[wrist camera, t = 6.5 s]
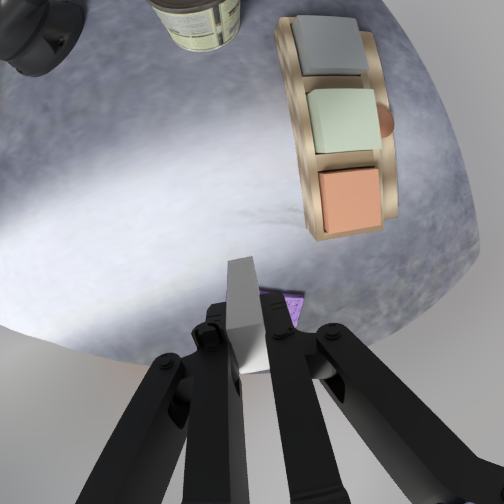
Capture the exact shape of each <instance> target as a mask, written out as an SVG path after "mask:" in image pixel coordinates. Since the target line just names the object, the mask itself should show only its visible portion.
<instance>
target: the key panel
mask: <svg viewBox="0 0 504 504" xmlns="http://www.w3.org/2000/svg"><path fill="white" fill-rule="evenodd" d="M295 19H296V17H280V19H279V22H278V24H277V27H276V30H275V32H274V37H275V41H276V46H277V50H278V55H279V59H280V64H281V69H282V74H283V79H284V84H285V89H286V94H287V99H288V105H289V110H290V116H291V122H292V128H293V134H294V140H295V147H296V153H297V160H298V167H299V174H300V182H301V189H302V197H303V205H304V214H305V223H306V229H307V230H308V231H309V232H310V233H311V235H312V236H313V237H314V238H315V240H316V241H323V240H329V239H334V238H340V237H345V236H351V235H357V234H362V233H368V232H373V231H379V230H384V220H385V219H391V218H397V217H398V195H397V173H396V159H395V148H394V139H393V129H394V119H393V116H392V114H391V112H390V109H389V103H388V97H387V92H386V87H385V82H384V77H383V72H382V68H381V64H380V59H379V55H378V52H377V48H376V44H375V40H374V37H373V34H372V32H364V31H359V32H360V35H361V39H362V42H363V46H364V50H365V54H366V58H367V62H368V66H369V70H367V71H365V72H363V73H361V74H359V75H357V76H311V77H302V74H301V69H300V65H299V60H298V56H297V51H296V47H295V43H294V39H293V35H292V31H291V27H292V25H293V23H294V21H295ZM314 89H373V90H374V95H375V101H376V106H377V113H378V119H379V126H380V134H381V142H382V149H372V150H357V151H344V152H333V153H317V152H315V149H314V142H313V135H312V129H311V123H310V117H309V111H308V105H307V100H306V95H307V94H309V93H310V92H311V91H313V90H314ZM362 166H367V167H371V168H376V169H378V172H379V186H380V209H381V225H379V226H373V227H367V228H361V229H356V230H350V231H344V232H338V233H333V234H329V233H328V232H327V231H326V230H325V229H324V228H323V218H322V207H321V197H320V188H319V180H318V171H324V170H332V169H342V168H351V167H362Z"/></svg>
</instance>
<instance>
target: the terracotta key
mask: <svg viewBox="0 0 504 504" xmlns="http://www.w3.org/2000/svg"><path fill="white" fill-rule="evenodd" d="M318 180H319V188H320V197H321V207H322V218H323V228H324V229H325V230H326V231H327V232H328V233H329V234H333V233H338V232H344V231H350V230H356V229H361V228H367V227H373V226H379V225H381V209H380V186H379V172H378V169H376V168H371V167H367V166H362V167H351V168H342V169H332V170H324V171H318Z"/></svg>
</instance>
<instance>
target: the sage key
mask: <svg viewBox="0 0 504 504" xmlns="http://www.w3.org/2000/svg"><path fill="white" fill-rule="evenodd" d="M306 100H307V105H308V111H309V117H310V123H311V129H312V135H313V142H314V149H315V152H317V153H333V152H344V151H357V150H372V149H382V142H381V134H380V126H379V119H378V113H377V106H376V101H375V95H374V90H373V89H314V90H313V91H311V92H310V93H309V94H307V95H306Z"/></svg>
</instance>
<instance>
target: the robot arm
mask: <svg viewBox="0 0 504 504" xmlns="http://www.w3.org/2000/svg"><path fill="white" fill-rule="evenodd" d="M83 22H84V16H83V12H82V10H81V9H80V8H79V7H78V6H77V5H75V4H74V3H72V2H69V1H57V0H0V60H4V61H7V62H8V63H9V64H10V65H11V66H13V67H14V68H16V70H17V71H18V72H19V73H20V74H22V75H25V76H30V77H38V76H42V75H44V74H46V73H48V72H49V71H51V70H52V69H54V68H55V67H56V66H57V65H58V64H60V63H61V62H62V61H63V59H64V58H65V57H66V56H67V55H68V54H69V52H70V51H71V50H72V48H73V47H74V45H75V43H76V42H77V40H78V38H79V35H80V33H81V30H82V27H83ZM191 334H192V337H193V339H194V342H195V344H196V346H197V351H196V352H194V353H193V354H191V355H188V356H185V357H183V358H180V356H179V355H177V354H175V353H165V354H162V355H160V356H159V357H157V358H156V359H155V360H154V361H153V363H152V365H151V366H150V368H149V370H148V371H147V373H146V375H145V377H144V378H143V380H142V382H141V383H140V385H139V387H138V389H137V390H136V392H135V394H134V396H133V397H132V399H131V401H130V403H129V405H128V406H127V408H126V410H125V411H124V413H123V415H122V417H121V419H120V420H119V422H118V424H117V426H116V428H115V429H114V431H113V433H112V435H111V437H110V439H109V440H108V442H107V444H106V446H105V447H104V449H103V451H102V453H101V455H100V457H99V459H98V461H97V462H96V464H95V466H94V468H93V470H92V472H91V474H90V476H89V478H88V480H87V481H86V483H85V485H84V487H83V489H82V491H81V493H80V495H79V497H78V499H77V501H76V503H75V504H161V503H162V500H163V497H164V495H165V492H166V490H167V487H168V485H169V482H170V479H171V477H172V474H173V471H174V469H175V466H176V464H177V461H178V458H179V456H180V453H181V451H182V448H183V445H184V443H185V440H186V437H187V444H186V456H185V457H186V458H185V470H184V484H183V499H182V503H181V504H250V502H249V489H248V477H247V463H246V450H245V449H246V448H245V434H244V418H243V402H242V384H241V380H240V377H239V371H240V374H244V373H250V372H256V371H262V370H267V369H270V373H271V379H272V385H273V392H274V398H275V404H276V411H277V417H278V423H279V429H280V435H281V442H282V448H283V455H284V461H285V467H286V474H287V480H288V486H289V492H290V503H291V504H351V502H350V499H349V496H348V493H347V491H346V489H345V488H344V487H343V484H342V481H341V478H340V474H339V471H338V467H337V463H336V460H335V456H334V453H333V449H332V446H331V442H330V439H329V435H328V432H327V429H326V425H325V422H324V418H323V415H322V412H321V408H320V405H319V401H318V398H317V395H316V392H315V388H314V385H313V381H312V379H319V380H320V382H321V384H322V385H323V386H324V388H325V389H326V390H327V392H328V393H329V395H330V396H331V397H332V399H333V400H334V402H335V403H336V404H337V406H338V407H339V408H340V409H341V411H342V412H343V414H344V415H345V416H346V418H347V419H348V421H349V422H350V423H351V425H352V426H353V427H354V428H355V430H356V431H357V433H358V434H359V435H360V437H361V438H362V439H363V441H364V442H365V443H366V445H367V446H368V447H369V449H370V450H371V451H372V453H373V454H374V455H375V457H376V458H377V459H378V461H379V462H380V463H381V465H382V466H383V467H384V469H385V470H386V471H387V472H388V474H389V475H390V476H391V478H392V479H393V480H394V481H395V483H396V484H397V485H398V487H399V488H400V489H401V490H402V492H403V493H404V494H405V496H406V497H407V498H408V499H409V500H410V501H411V502H412V504H504V467H502V466H499V465H496V464H494V463H491V462H488V461H486V460H483V459H481V458H478V457H477V456H476V455H475V454H474V453H473V452H472V451H471V450H470V449H469V448H468V447H467V446H466V445H465V444H464V443H463V442H462V441H461V440H460V439H459V438H458V437H457V436H456V435H455V434H454V433H453V432H452V431H451V430H450V429H449V428H448V427H447V426H446V425H445V424H444V423H443V422H442V421H441V420H440V419H439V418H438V417H437V416H436V415H435V414H434V413H433V412H432V411H431V410H430V409H429V408H428V407H427V406H426V405H425V404H424V403H423V402H422V401H421V400H420V399H419V398H418V397H417V396H416V395H415V394H414V393H413V392H412V391H411V390H410V389H409V388H408V387H407V386H406V385H405V384H404V383H403V382H402V381H401V380H400V379H399V378H398V377H397V376H396V375H395V374H394V373H393V372H392V371H391V370H390V369H389V368H388V367H387V366H386V365H385V364H384V363H383V362H382V361H381V360H380V359H379V358H378V357H377V356H376V355H375V354H374V353H373V352H372V351H371V350H370V349H369V348H368V347H367V346H365V345H364V344H363V343H362V342H361V341H360V340H359V339H358V338H357V337H356V336H355V335H354V334H353V333H352V332H351V331H350V330H349V329H348V328H347V327H346V326H344V325H342V324H339V323H329V324H325V325H323V326H321V327H320V328H319V329H318V330H317V333H305V332H301V331H299V330H297V329H296V328H295V327H294V325H293V322H292V319H291V316H290V313H289V310H288V307H287V303H286V300H285V297H284V295H283V294H282V293H280V292H279V291H275V292H270V293H265V294H260V291H259V286H258V281H257V276H256V271H255V267H254V262H253V257H252V256H251V257H246V258H241V259H236V260H231V261H228V272H227V302H221V303H216V304H211V306H210V307H209V308H208V310H207V314H206V321H205V322H204V323H201V324H199V325H197V326H196V327H195V328H194V329H193V330H192V333H191Z"/></svg>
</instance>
